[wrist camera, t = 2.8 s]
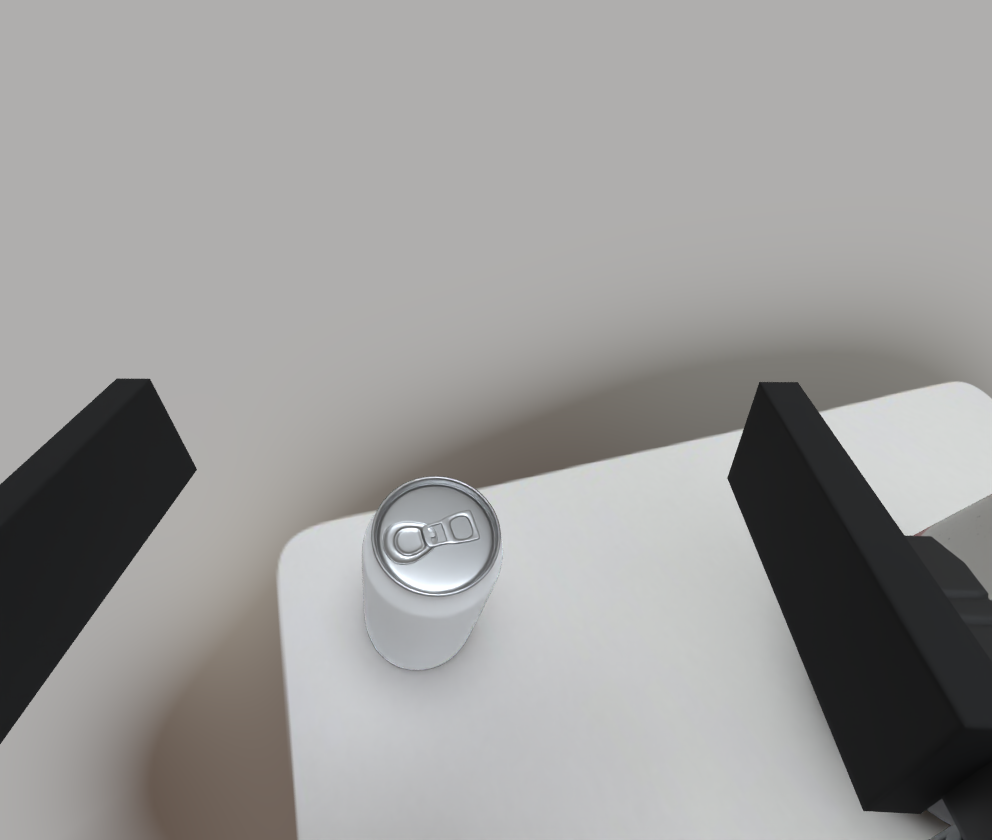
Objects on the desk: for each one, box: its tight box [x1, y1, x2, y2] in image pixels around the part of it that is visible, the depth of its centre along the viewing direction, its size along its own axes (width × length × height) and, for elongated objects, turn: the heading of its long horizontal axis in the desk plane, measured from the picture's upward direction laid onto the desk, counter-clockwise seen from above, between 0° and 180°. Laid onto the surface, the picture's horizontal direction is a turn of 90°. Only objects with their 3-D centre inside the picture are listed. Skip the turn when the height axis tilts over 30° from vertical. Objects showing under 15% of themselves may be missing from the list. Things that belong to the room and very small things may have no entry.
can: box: [362, 476, 503, 670], centre depth 28 cm, size 6×6×12 cm
